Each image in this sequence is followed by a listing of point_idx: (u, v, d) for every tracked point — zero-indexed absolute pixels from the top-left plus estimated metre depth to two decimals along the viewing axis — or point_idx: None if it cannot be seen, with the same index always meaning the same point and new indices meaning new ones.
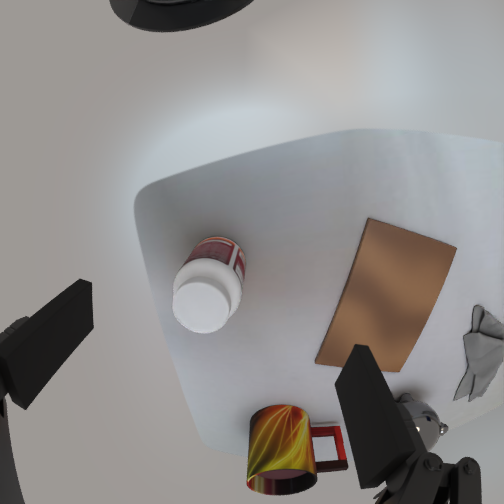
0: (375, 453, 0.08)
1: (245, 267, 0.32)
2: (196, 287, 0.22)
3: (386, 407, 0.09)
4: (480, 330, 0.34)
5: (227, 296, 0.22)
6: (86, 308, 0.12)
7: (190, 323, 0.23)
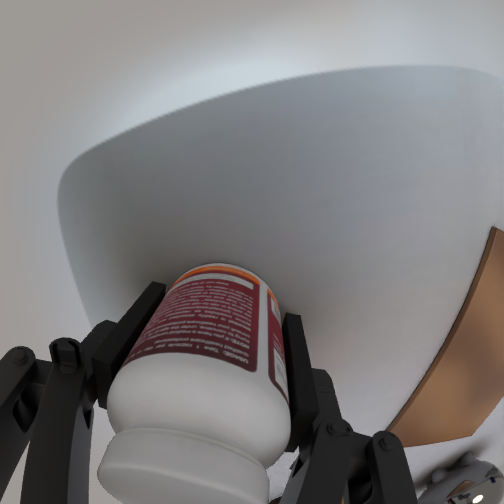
0: None
1: None
2: (154, 478, 0.04)
3: (298, 367, 0.10)
4: None
5: (261, 488, 0.05)
6: None
7: None
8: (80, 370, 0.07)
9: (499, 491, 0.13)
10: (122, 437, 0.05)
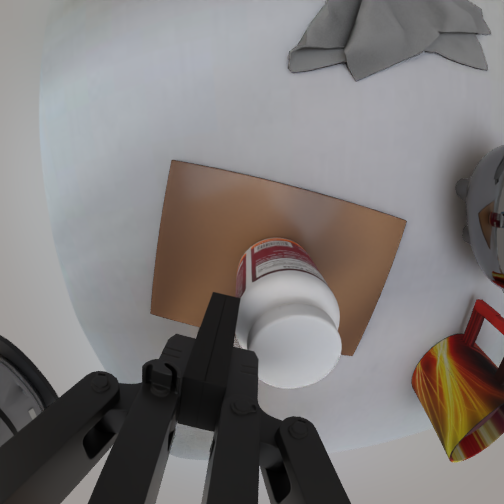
0: None
1: (280, 239, 0.22)
2: None
3: (218, 344, 0.11)
4: (343, 43, 0.18)
5: (276, 314, 0.13)
6: None
7: (320, 368, 0.14)
8: (173, 394, 0.08)
9: None
10: None
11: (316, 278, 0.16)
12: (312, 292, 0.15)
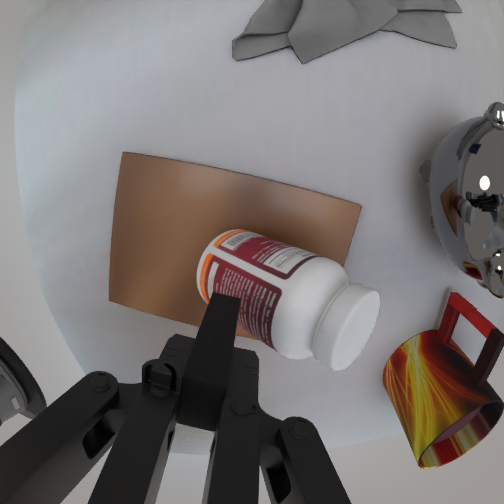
0: None
1: (241, 231, 0.20)
2: (338, 351, 0.13)
3: (219, 344, 0.11)
4: (289, 27, 0.17)
5: (350, 300, 0.13)
6: None
7: (367, 336, 0.15)
8: (173, 394, 0.08)
9: (476, 162, 0.13)
10: (318, 359, 0.14)
11: None
12: (342, 273, 0.15)
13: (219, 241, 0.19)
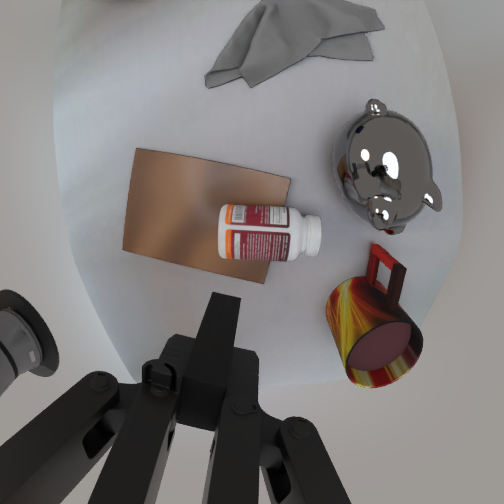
0: None
1: (231, 207, 0.31)
2: (318, 247, 0.31)
3: (219, 344, 0.11)
4: (241, 63, 0.30)
5: (317, 225, 0.31)
6: None
7: None
8: (173, 394, 0.08)
9: (350, 141, 0.25)
10: (308, 255, 0.32)
11: (290, 207, 0.32)
12: None
13: (228, 220, 0.30)
